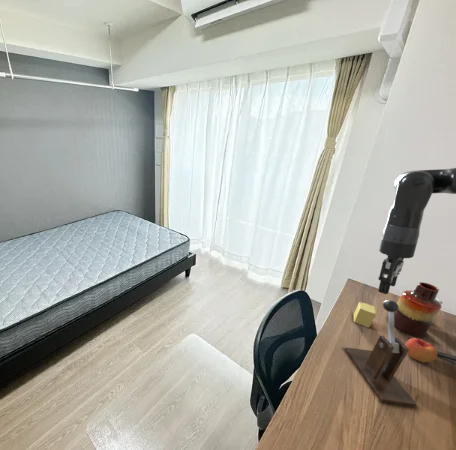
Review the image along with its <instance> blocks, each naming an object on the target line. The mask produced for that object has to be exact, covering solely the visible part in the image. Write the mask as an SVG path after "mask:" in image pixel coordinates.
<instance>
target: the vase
mask: <svg viewBox="0 0 456 450" xmlns="http://www.w3.org/2000/svg"><path fill="white" fill-rule="evenodd" d="M414 288H415V289H412V290H410V289H409V290H408V289H407V290H404V291H403V292H402V293H401V295H400V296H399V298H398V300H397V302H396V303H397V304H398V306H399V309H398V310H397V311H396V312H394V329H396V330H398V331H399V332H401V333H403V334H405V335H408V336H410V337H414V338H423V337H425V335H426V334H427V332H428V330H430V327H431V326H432V324H433V322H434V321H435V320H436V318H437V316H438V314H439V312H440V311H441V309H442V304H440V303H439V302H438V301H437V300H436V299H435V298H436V297H437V296H438V294H439V292H440V289H439V288H438V287H437V286H435V285H433V284H430V283H428V282H423V281H422V282H418V283H417V285H416V286H415V287H414ZM413 290H414V291H413Z"/></svg>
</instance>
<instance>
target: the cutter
mask: <svg viewBox="0 0 456 450" xmlns="http://www.w3.org/2000/svg"><path fill="white" fill-rule="evenodd" d="M395 342H396V343H399V353H392V351H393V349H394V347H393V346H392V345H391V343H390V342H389V341H388V338H386V337H385V336H384V335H379V337H378V339H377V340H376V342H375V344H374V346H373V348H372V350H367V349H359V348H351V347H345V348H344V351H345V352H346V354H347V355H348V356H349V358H350V359H351V361H352V363H353V364H354V365H355V367H356V368H357V369H358V371H359V373H361V375H362V376H363V378H364V379H365V381H366V382H367V384H368V386H370V388H371V389H372V391H373V393H374V394H375V395H376V396H377V398H378V400H379V401H380V402H381V403H388V404H393V405H394V404H395V405H401V406H408V407H416V405H417V403H416V402H415V400H414V399H413V398H412V397H411V396H410V394H409V393H408V392H407V391H406V390H405V388H404V387H403V386H402V385H401V384H400V382H399V381H398V380H397V379H396V378H395V374H396V373H397V371H398V369H399V367H400V366H401V364H402V362H403V361H404V359H405V358H406V356H407V355H408V353H407V352H408V351H409V349H408V348H407V347H406V344H405V343H403V341H402V340H401V339H399V338H398V337H396V336H395Z"/></svg>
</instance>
